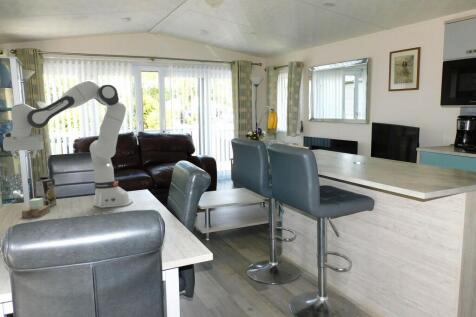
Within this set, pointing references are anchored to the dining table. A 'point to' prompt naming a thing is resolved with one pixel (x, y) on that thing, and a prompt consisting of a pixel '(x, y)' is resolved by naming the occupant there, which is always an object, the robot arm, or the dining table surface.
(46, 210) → the walnut block
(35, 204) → the sage cube
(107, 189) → the robot arm
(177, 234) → the dining table surface
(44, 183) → the coffee box
